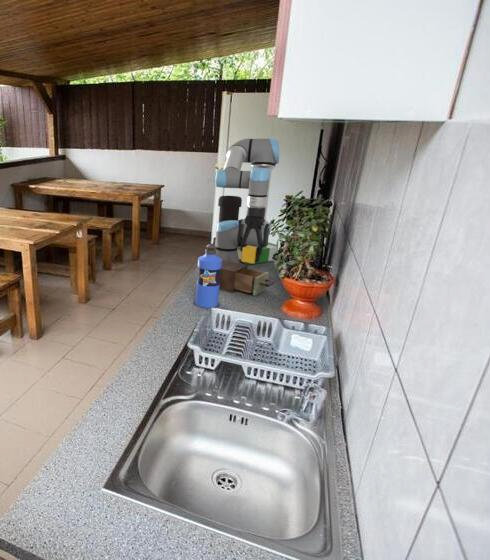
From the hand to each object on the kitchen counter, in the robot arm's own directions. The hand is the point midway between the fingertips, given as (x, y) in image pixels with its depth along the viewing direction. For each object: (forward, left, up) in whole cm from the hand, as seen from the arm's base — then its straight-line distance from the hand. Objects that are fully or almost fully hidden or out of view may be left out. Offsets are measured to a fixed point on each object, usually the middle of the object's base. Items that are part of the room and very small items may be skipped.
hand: (250, 260), depth 183 cm
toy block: (0, 0, 0) cm, 0 cm away
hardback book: (-41, -26, -10) cm, 49 cm away
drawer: (-1, +2, -13) cm, 14 cm away
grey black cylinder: (-71, -47, -14) cm, 86 cm away
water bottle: (+25, -6, -15) cm, 29 cm away
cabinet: (-1, -11, -14) cm, 18 cm away
